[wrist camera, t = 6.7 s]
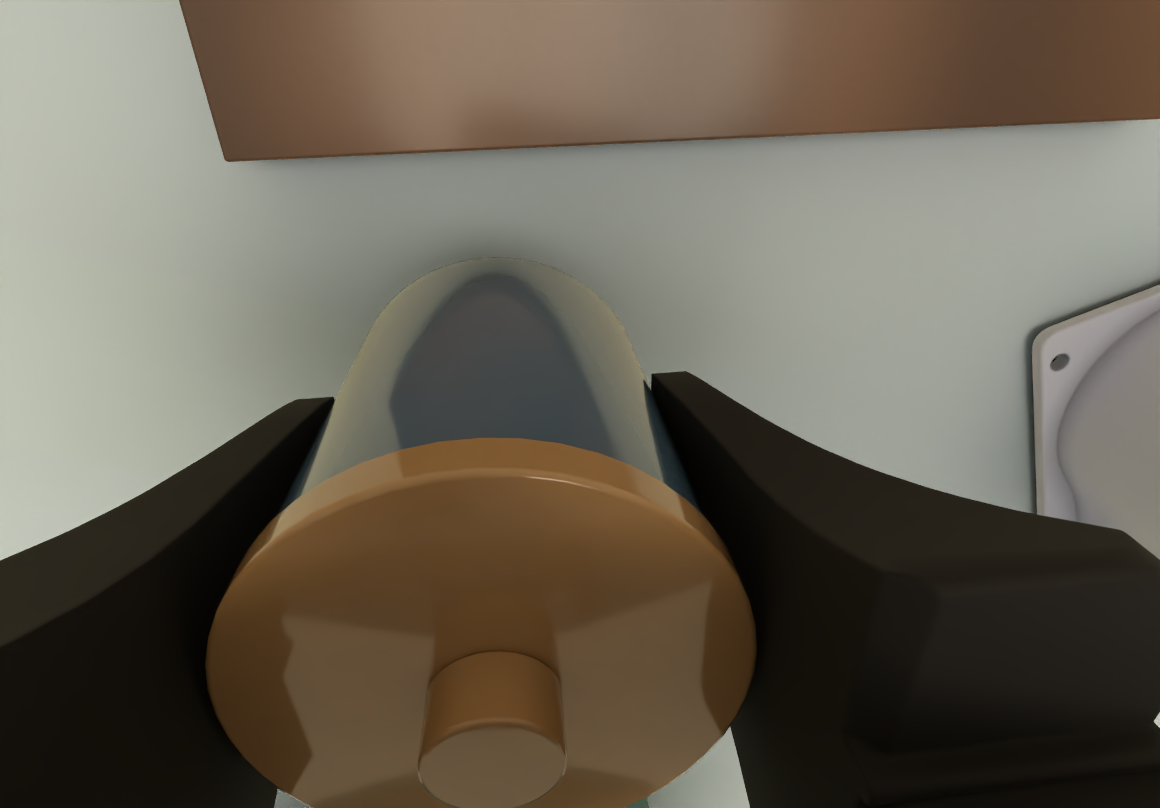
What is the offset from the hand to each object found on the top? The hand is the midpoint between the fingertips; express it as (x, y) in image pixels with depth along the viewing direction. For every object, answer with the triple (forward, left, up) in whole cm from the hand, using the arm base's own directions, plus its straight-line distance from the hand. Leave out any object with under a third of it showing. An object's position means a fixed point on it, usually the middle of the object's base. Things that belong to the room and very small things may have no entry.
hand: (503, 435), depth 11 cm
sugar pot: (0, 0, -2) cm, 2 cm away
